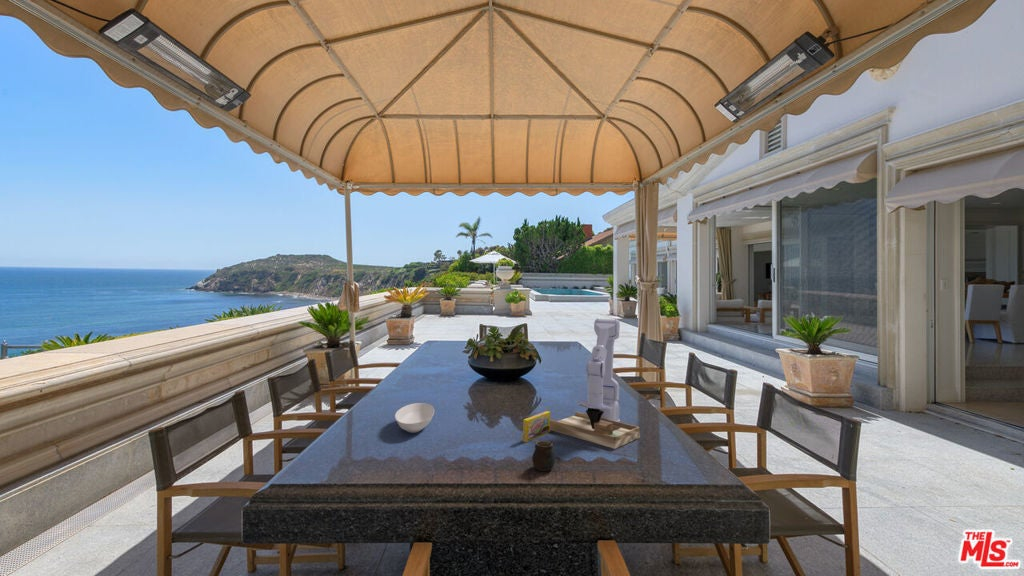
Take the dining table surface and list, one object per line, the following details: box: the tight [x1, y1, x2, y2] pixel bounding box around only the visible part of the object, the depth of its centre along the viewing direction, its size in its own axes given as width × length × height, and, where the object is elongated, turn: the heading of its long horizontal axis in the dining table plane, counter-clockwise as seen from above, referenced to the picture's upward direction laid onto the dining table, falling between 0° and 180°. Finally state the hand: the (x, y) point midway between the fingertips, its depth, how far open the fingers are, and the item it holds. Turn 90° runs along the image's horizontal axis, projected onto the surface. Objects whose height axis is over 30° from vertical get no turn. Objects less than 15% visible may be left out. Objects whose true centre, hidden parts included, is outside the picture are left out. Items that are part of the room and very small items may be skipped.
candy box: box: [521, 410, 551, 443], centre depth 176 cm, size 16×2×8 cm, turn 143°
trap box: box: [550, 411, 641, 450], centre depth 181 cm, size 18×30×4 cm, turn 46°
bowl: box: [394, 402, 435, 434], centre depth 185 cm, size 30×15×6 cm, turn 4°
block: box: [594, 420, 613, 435], centre depth 173 cm, size 5×5×4 cm
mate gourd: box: [531, 440, 556, 472], centre depth 145 cm, size 7×8×10 cm
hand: (594, 428), depth 176 cm, fingers closed
